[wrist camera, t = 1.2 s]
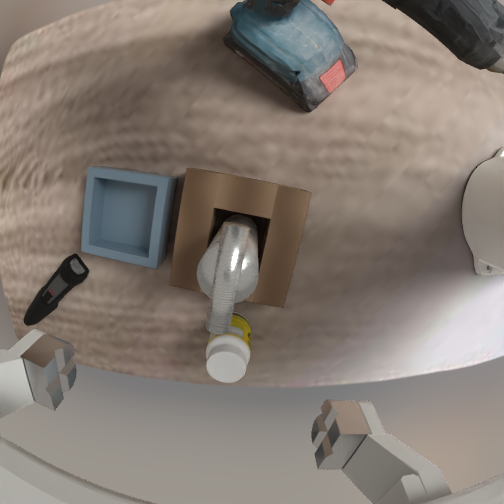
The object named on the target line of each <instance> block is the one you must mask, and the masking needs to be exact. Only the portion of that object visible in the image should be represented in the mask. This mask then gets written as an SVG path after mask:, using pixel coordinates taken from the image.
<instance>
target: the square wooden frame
mask: <svg viewBox="0 0 504 504" xmlns="http://www.w3.org/2000/svg"><path fill="white" fill-rule="evenodd" d="M311 194H312V193H311V192H308V191H306V190H302V189H297V188H293V187H288V186H284V185H279V184H275V183H270V182H265V181H260V180H255V179H250V178H245V177H240V176H235V175H230V174H224V173H219V172H213V171H207V170H202V169H196V168H187V170H186V175H185V181H184V187H183V192H182V198H181V205H180V211H179V217H178V224H177V231H176V238H175V245H174V252H173V260H172V268H171V277H170V286H175V287H180V288H184V289H189V290H193V291H198V292H203V291H202V289H201V288H200V286H199V283H198V279H197V268H198V265H199V262H200V260H201V259H202V257H203V255H204V254H205V252H206V250H207V249H208V247H209V246H210V244H211V242H212V239H213V233H214V227H215V222H216V216H217V211H218V208H219V209H224V210H229V211H234V212H239V213H244V214H249V215H254V216H259V217H264V218H268V221H267V226H266V230H265V235H264V239H263V244H262V249H261V253H260V258H259V261H258V283H257V286H256V288H255V290H254V291H253V293H252V294H251V295H250V296H249V297H248V298H246V299H245V300H243V301H248V302H253V303H258V304H264V305H269V306H275V307H281V308H283V307H284V303H285V300H286V296H287V292H288V288H289V285H290V281H291V277H292V273H293V269H294V265H295V261H296V257H297V253H298V249H299V245H300V241H301V237H302V232H303V228H304V224H305V220H306V216H307V211H308V207H309V202H310V198H311ZM203 293H204V292H203Z"/></svg>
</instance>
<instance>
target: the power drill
mask: <svg viewBox="0 0 504 504" xmlns="http://www.w3.org/2000/svg"><path fill="white" fill-rule="evenodd" d="M322 1H323V2H325V3H327V4H328V5H331V4H332V3H333V2H334V1H335V0H322ZM382 1H384V2H385V3H387V4H388V5H390V6H391V7H393V8H394V9H396V8H397V9H399V10H400V11H402V12H403V13H405V14H406V15H407V16H409V17H410V18H411V19H413V20H414V21H415V22H417V23H418V24H419V25H421V26H422V27H423V28H425V29H426V30H427V31H428V32H430V33H431V34H432V35H433V36H434V37H436V38H437V39H438V40H439V41H440V42H441V43H443V44H444V45H445V46H446V47H447V48H448V49H449V50H450V51H451V52H452V53H453V54H454V55H455V56H456V57H457V58H458V59H459V60H461V61H463V62H465V63H466V64H469V65H471V66H473V67H475V68H478V69H480V70H481V69H487V70H489V71H492V72H497V73H503V74H504V6H502V5H501V4H500V3H499V2H498V1H497V0H382ZM230 15H231V17H232V20H233V24H232V28H231V31H230V32H229V33H228V34H227V35H226V36H225V37H224V38H223V41H224V43H225V45H226V46H227V47H229V48H230V49H232V50H233V51H234V52H235V53H236V54H238V55H239V56H241V57H242V58H243V59H245V60H246V61H247V62H248V63H250V64H251V65H252V66H253V67H255V68H256V69H257V70H258V71H260V72H261V73H262V74H263V75H265V76H266V77H267V78H268V79H269V80H271V81H272V82H273V83H274V84H276V85H277V86H278V87H279V88H280V89H281V90H283V91H284V92H285V93H286V94H287V95H288V96H289V97H291V98H292V99H293V100H294V101H295V102H296V103H297V104H298V105H299V106H300V107H301V108H302V109H303V110H304V111H308V112H311V111H312V110H314V109H315V108H317V107H318V105H319V104H320V103H321V102H323V101H324V100H325V99H326V98H327V97H328V96H329V95H330V94H331V93H332V92H333V91H334V90H335V89H336V88H337V87H338V86H340V85H341V84H342V83H343V82H344V81H345V80H346V79H347V78H348V77H349V76H350V75H351V74H352V73H353V72H354V71H355V70H356V69H357V68H358V65H357V60H356V58H355V56H354V53H353V51H352V50H351V49H350V48H349V47H348V46H347V45H346V44H345V43H344V40H343V38H342V36H341V34H340V33H339V31H338V29H337V27H336V26H335V25H334V23H333V22H331V20H330V19H329V18H328V17H327V15H326V14H325V13H324V12H323V11H322V10H320V9H319V8H318V7H317V6H316V5H315V4H314V3H312V2H311V1H310V0H245V1H243V2H238V3H237V4H236V5H235V6H234V7H233V8H232V9H231V10H230Z"/></svg>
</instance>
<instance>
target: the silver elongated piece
mask: <svg viewBox="0 0 504 504" xmlns="http://www.w3.org/2000/svg"><path fill="white" fill-rule="evenodd" d="M197 279H198V283H199V286H200V288H201V289H202V291H203V292H204V293H205V294H206V295H207V296H208V297H209V298H210V302H209V308H208V314H207V321H206V329H207V330H208V331H209V332H211V333H214V334H219V335H223V334H226V333H228V332H229V329H230V324H231V319H232V314H233V309H234V304H235V303H238V302H241V301H243V300H245V299H246V298H248V297H249V296H250V295H251V294H252V293H253V291H254V290H255V288H256V286H257V283H258V232H257V227H256V224H255V223H254V221H253V220H252V219H251V218H249V217H248V216H245V215H240V214H238V215H233V216H231V217H229V218H227V219H226V220H225V222H224V223H223V225H222V226H221V228H220V229H219V231H218V233H217V234H216V236H215V237H214V239H213V241H212V242H211V244H210V246H209V247H208V249H207V250H206V252H205V254H204V255H203V257H202V259H201V260H200V262H199V265H198V268H197Z"/></svg>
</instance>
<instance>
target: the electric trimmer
mask: <svg viewBox="0 0 504 504" xmlns="http://www.w3.org/2000/svg"><path fill="white" fill-rule="evenodd" d="M88 273H89V270H88V268H87V267H86V265H85V264H84V263H83V261H82V260H81V258H80V257H79V256H78V255H77V254H73V255H71V256H69V257H67V258H66V259H65V260H64V261H63V263H62V264H61V266H60V267H59V268H58V270H57V271H56V272H55V273H54V275H53V276H52V277H51V279H50V280H49V281H48V283H47V284H46V285H45V286H44V287H42V288H41V290H40V291H39V293H38V294H37V296H36V297H35V299H34V300H33V302H32V304H31V305H30V307H29V308H28V310H27V312H26V315H25V317H24V323H25V324H26V325H27V326H29V325H34V324H36V323H38V322H39V321H41V320H42V319H43V318H44V317H46V316H47V315H48V314H49V313H51V312H52V311H53V310H54V309H56V308H57V306H58V302H59V301H60V300H61V299H62V298H63V297H64V296H65V295H66V294H67V293H68V292H69V291H70V290H71V289H72V288H73V287H74V286H76V285H78V284H80V283H82V282H83V281H84V280H85V279H86V278H87V276H88V275H87V274H88Z"/></svg>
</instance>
